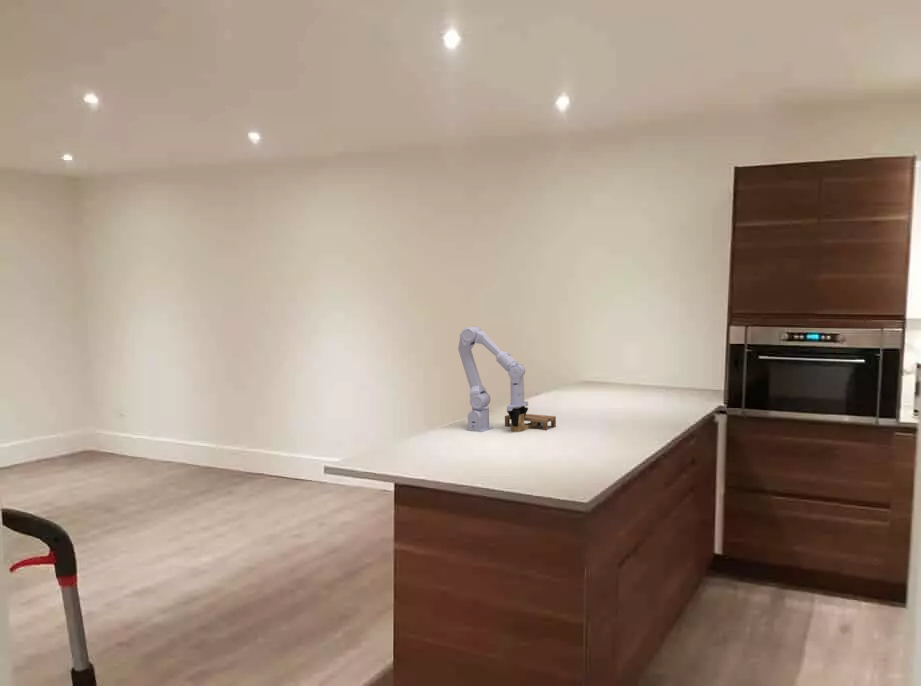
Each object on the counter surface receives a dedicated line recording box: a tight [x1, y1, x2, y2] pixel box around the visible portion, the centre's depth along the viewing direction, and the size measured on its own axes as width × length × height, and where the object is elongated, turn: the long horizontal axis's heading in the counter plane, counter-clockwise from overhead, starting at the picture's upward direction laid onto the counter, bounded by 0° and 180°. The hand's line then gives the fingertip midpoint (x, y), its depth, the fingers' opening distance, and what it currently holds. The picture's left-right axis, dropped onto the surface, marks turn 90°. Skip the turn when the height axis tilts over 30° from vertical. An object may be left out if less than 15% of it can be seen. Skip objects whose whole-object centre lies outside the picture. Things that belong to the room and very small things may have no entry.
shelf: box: [504, 413, 557, 431], centre depth 323 cm, size 9×20×4 cm, turn 55°
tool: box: [510, 413, 539, 433], centre depth 320 cm, size 17×4×7 cm, turn 145°
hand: (517, 425), depth 314 cm, fingers closed on tool, 4 cm apart
